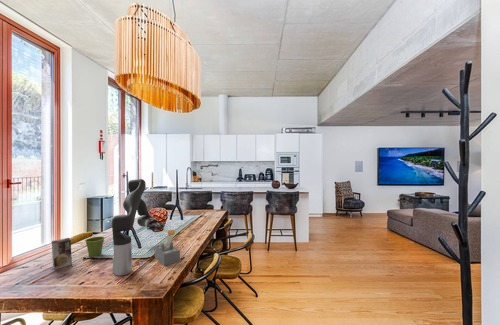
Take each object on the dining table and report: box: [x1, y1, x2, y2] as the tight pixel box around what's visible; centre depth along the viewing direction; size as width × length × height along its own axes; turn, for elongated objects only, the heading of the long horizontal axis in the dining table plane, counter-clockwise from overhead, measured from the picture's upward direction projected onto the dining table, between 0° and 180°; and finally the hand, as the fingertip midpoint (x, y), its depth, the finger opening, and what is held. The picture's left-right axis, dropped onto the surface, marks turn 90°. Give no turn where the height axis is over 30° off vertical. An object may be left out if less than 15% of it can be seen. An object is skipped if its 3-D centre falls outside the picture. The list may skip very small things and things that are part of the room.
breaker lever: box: [164, 229, 176, 248], centre depth 159 cm, size 2×4×15 cm
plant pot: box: [84, 236, 106, 258], centre depth 173 cm, size 12×12×11 cm
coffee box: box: [51, 237, 73, 270], centre depth 157 cm, size 9×6×16 cm
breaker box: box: [154, 241, 181, 267], centre depth 163 cm, size 16×10×11 cm, turn 40°
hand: (160, 228), depth 171 cm, fingers closed
